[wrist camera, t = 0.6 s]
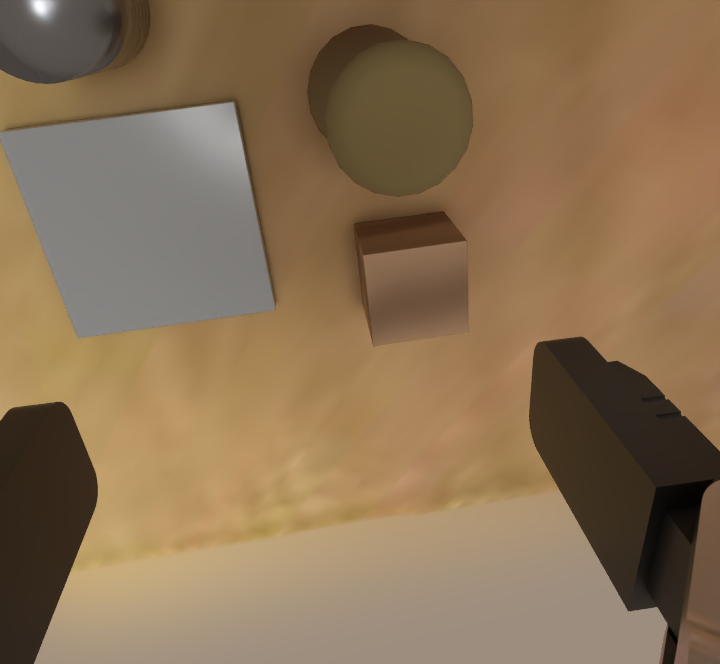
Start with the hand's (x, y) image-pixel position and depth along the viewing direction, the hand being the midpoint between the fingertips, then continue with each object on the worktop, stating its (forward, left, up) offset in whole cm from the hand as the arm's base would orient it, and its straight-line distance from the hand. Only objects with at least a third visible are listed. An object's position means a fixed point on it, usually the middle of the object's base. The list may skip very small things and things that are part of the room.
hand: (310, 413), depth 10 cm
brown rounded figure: (-2, +4, -23) cm, 23 cm away
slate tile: (+3, -8, -22) cm, 24 cm away
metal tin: (-7, -8, -22) cm, 25 cm away
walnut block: (+7, +5, -23) cm, 24 cm away
